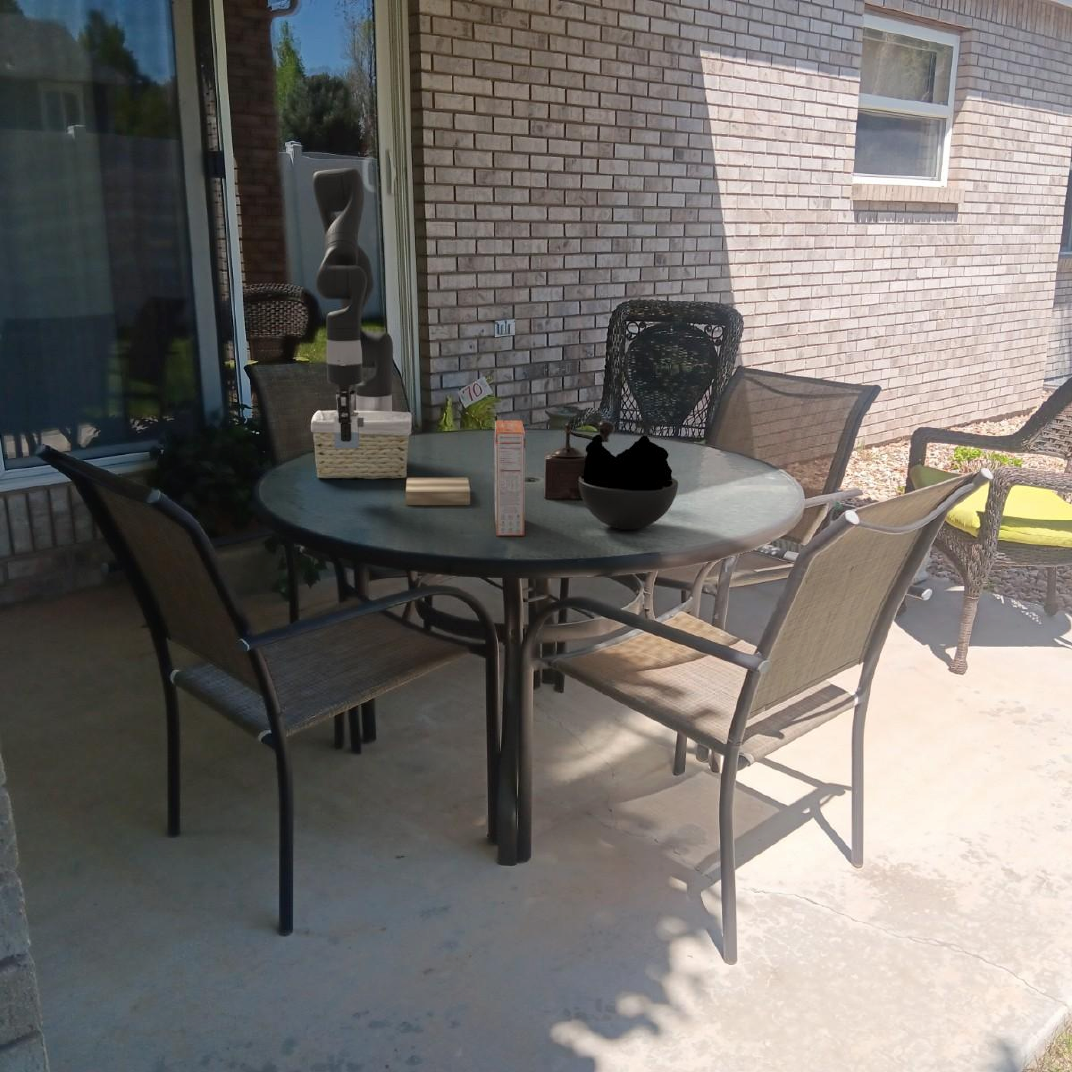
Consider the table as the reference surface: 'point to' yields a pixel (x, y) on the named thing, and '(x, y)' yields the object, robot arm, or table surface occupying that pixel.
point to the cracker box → (509, 477)
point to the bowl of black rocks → (627, 484)
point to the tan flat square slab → (437, 491)
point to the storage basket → (363, 446)
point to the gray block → (355, 426)
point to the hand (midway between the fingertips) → (347, 438)
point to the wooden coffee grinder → (568, 465)
